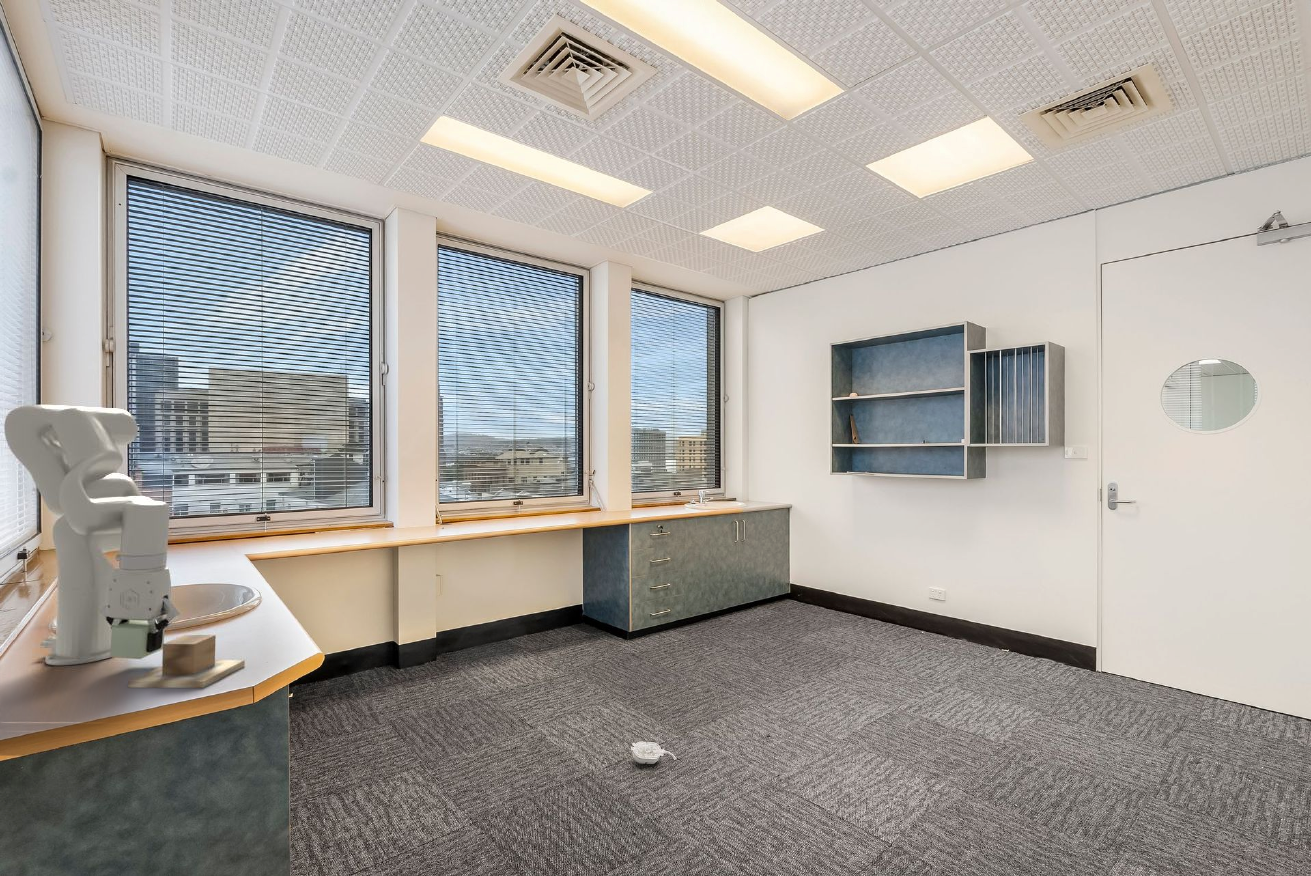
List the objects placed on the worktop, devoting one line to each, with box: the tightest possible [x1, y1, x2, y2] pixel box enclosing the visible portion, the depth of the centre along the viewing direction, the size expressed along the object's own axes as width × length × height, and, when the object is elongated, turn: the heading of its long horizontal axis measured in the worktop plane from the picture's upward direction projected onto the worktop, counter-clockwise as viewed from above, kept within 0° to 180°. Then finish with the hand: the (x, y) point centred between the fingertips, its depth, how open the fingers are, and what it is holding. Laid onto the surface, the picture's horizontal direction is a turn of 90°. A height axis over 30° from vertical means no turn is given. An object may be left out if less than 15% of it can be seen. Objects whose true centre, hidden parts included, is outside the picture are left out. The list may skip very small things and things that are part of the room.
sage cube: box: [110, 619, 166, 660], centre depth 129 cm, size 6×6×6 cm
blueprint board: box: [127, 659, 246, 689], centre depth 124 cm, size 14×12×1 cm
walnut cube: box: [161, 634, 217, 675], centre depth 124 cm, size 6×6×6 cm
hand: (137, 648), depth 129 cm, fingers closed on sage cube, 6 cm apart
